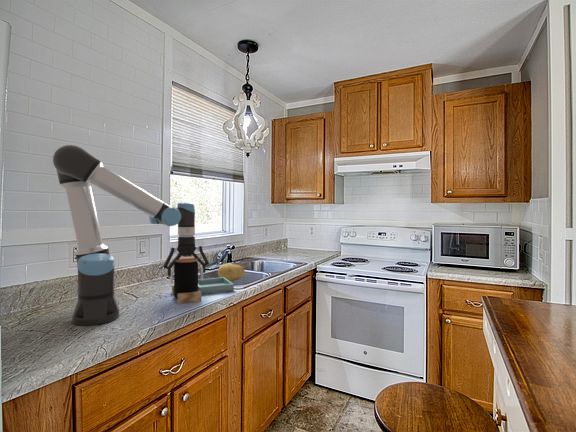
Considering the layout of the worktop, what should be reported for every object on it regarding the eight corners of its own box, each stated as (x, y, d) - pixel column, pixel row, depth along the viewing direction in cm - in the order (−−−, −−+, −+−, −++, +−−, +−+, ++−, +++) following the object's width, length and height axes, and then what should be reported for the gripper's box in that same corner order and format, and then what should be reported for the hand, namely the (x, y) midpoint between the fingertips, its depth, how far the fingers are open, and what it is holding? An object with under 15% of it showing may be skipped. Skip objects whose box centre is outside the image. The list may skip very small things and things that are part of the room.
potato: (222, 277, 191) (222, 262, 191) (245, 279, 188) (246, 263, 188) (215, 281, 182) (215, 264, 181) (239, 283, 178) (239, 266, 178)
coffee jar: (201, 294, 155) (201, 257, 155) (192, 300, 145) (192, 260, 144) (179, 293, 156) (180, 256, 156) (169, 299, 146) (169, 260, 145)
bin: (199, 294, 155) (199, 287, 155) (192, 286, 170) (192, 280, 170) (233, 290, 162) (233, 284, 162) (224, 283, 178) (224, 277, 177)
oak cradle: (177, 303, 140) (178, 294, 140) (171, 293, 157) (171, 284, 156) (201, 301, 144) (201, 292, 144) (192, 290, 161) (193, 283, 161)
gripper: (158, 238, 141) (159, 286, 141) (215, 235, 152) (215, 280, 153) (156, 236, 147) (157, 282, 148) (211, 234, 159) (211, 277, 159)
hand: (186, 281), depth 150 cm, fingers open, 13 cm apart
